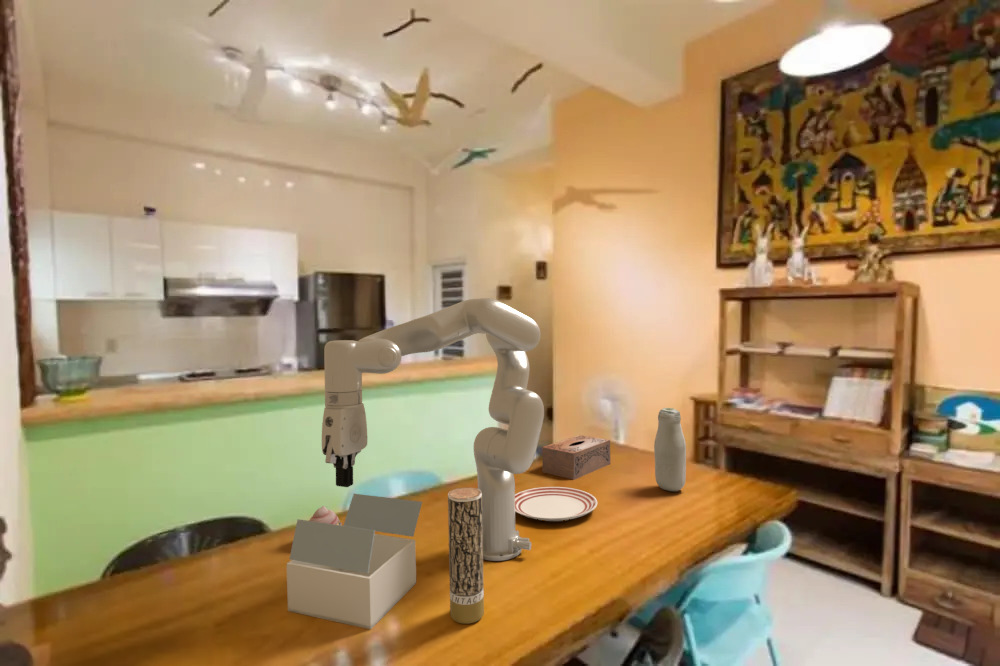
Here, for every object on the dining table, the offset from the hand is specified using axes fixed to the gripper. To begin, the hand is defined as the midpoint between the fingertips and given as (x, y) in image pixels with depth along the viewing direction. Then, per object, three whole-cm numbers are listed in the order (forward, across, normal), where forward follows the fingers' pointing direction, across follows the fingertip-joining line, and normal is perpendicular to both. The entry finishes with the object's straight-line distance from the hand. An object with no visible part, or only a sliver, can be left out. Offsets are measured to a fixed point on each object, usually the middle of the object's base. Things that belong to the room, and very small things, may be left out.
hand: (344, 485), depth 108 cm
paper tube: (+25, +4, -26) cm, 37 cm away
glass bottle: (+23, +93, -64) cm, 115 cm away
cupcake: (+25, +23, +24) cm, 41 cm away
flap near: (+11, -5, 0) cm, 12 cm away
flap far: (+11, +14, 0) cm, 18 cm away
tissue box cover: (+24, +109, -28) cm, 115 cm away
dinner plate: (+24, +64, -30) cm, 74 cm away
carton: (+25, +3, 0) cm, 25 cm away
